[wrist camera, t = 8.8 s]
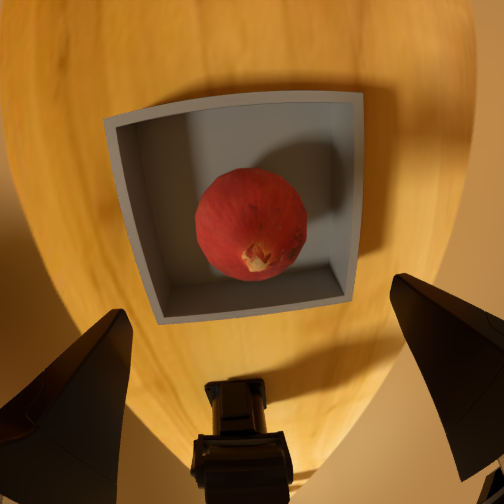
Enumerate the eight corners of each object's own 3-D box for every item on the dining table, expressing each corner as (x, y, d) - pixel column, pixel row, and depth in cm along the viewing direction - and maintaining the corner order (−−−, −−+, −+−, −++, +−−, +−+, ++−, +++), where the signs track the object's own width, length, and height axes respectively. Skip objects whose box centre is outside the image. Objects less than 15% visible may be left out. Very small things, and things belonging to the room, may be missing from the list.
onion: (304, 176, 18) (357, 227, 11) (269, 251, 20) (294, 332, 13) (218, 143, 16) (215, 172, 9) (189, 226, 19) (172, 303, 12)
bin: (331, 266, 22) (351, 300, 18) (167, 286, 22) (158, 325, 18) (332, 94, 16) (362, 92, 12) (130, 115, 16) (103, 119, 12)
